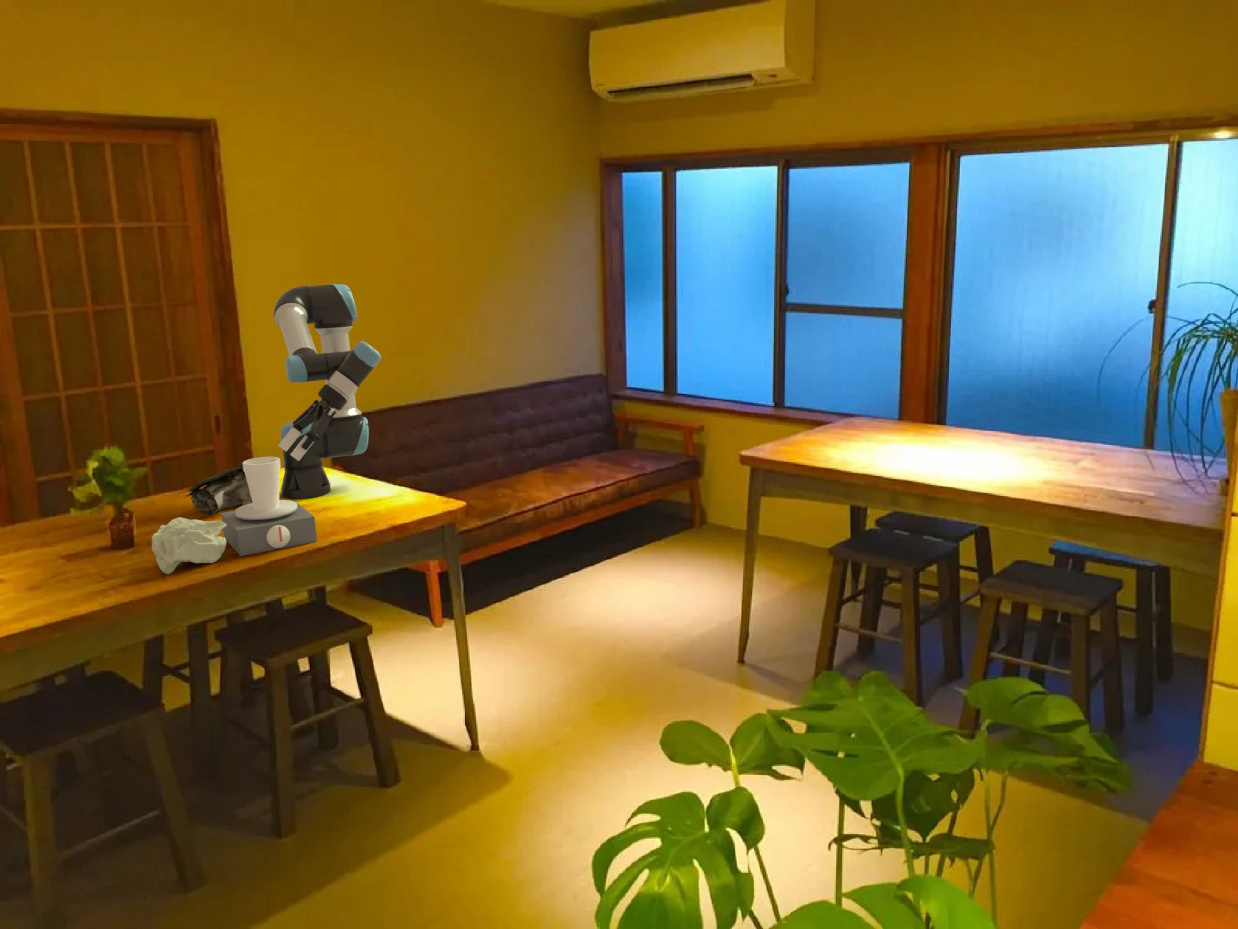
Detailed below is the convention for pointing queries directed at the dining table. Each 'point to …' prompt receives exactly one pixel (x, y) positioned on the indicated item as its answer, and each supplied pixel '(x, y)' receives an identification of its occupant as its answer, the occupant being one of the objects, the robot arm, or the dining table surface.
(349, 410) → the robot arm
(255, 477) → the foam cup
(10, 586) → the dining table surface
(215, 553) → the wavy plaster lump
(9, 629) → the dining table surface
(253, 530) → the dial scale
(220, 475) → the weathered wood log
